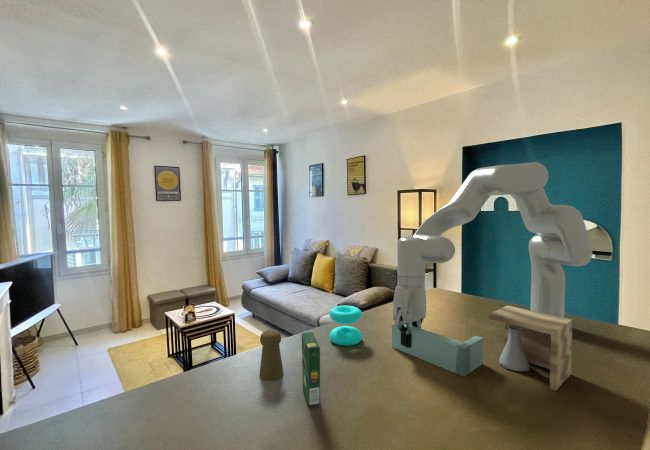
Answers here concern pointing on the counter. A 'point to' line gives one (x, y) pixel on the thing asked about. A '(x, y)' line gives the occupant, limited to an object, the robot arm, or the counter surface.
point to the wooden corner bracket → (541, 339)
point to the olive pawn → (271, 356)
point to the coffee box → (311, 368)
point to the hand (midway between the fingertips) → (410, 343)
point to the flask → (514, 352)
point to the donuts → (345, 333)
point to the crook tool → (442, 350)
